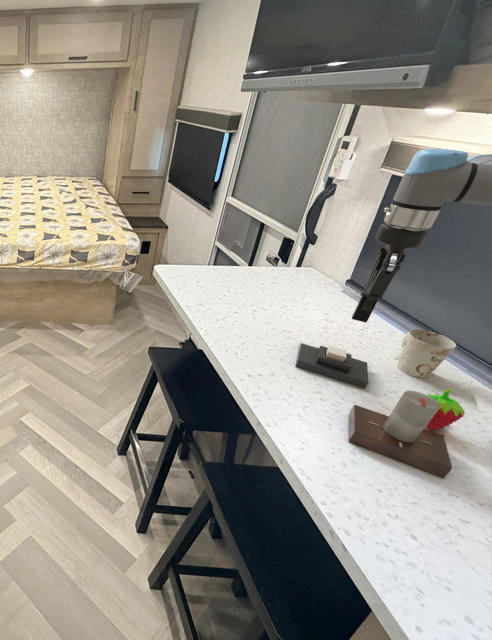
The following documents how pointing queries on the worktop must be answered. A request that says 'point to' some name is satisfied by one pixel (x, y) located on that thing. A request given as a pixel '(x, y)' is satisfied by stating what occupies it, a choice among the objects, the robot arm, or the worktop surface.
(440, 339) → the mug
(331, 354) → the cream square block
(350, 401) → the worktop surface
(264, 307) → the worktop surface
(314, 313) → the worktop surface
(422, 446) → the volume box
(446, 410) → the strawberry
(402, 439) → the volume knob
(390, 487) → the worktop surface
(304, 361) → the ridged dark grey block
